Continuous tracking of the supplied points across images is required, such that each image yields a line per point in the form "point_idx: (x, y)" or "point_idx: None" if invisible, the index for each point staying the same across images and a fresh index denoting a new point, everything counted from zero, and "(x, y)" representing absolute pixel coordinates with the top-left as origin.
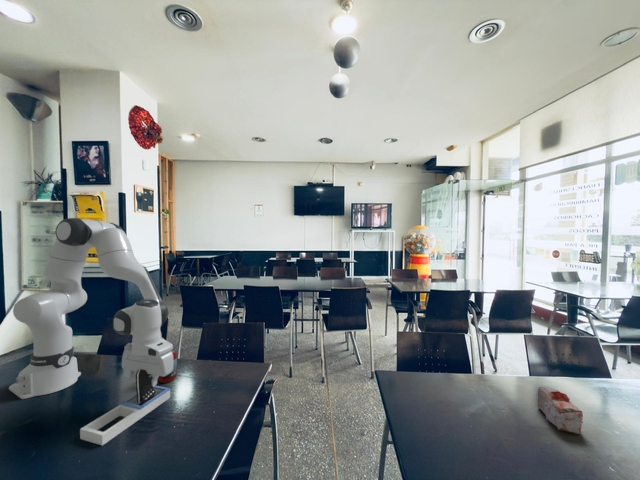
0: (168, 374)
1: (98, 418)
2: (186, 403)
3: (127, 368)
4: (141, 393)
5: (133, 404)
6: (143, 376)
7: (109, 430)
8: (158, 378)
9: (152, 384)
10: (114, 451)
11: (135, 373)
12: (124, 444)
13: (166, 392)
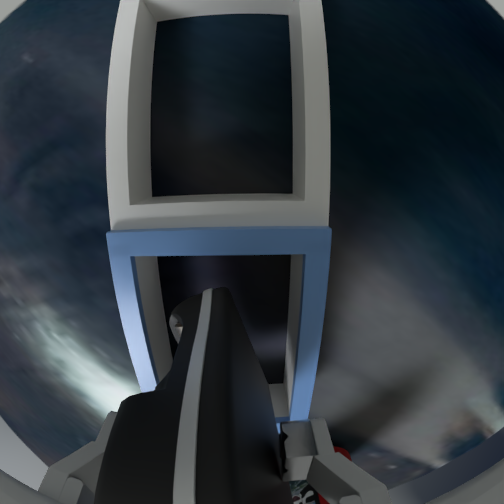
0: (291, 482)
1: (319, 54)
2: (64, 365)
3: (482, 494)
4: (180, 338)
5: (201, 247)
6: (102, 492)
7: (117, 16)
8: (343, 453)
9: (110, 421)
10: (65, 30)
11: (363, 496)
12: (56, 65)
13: None
